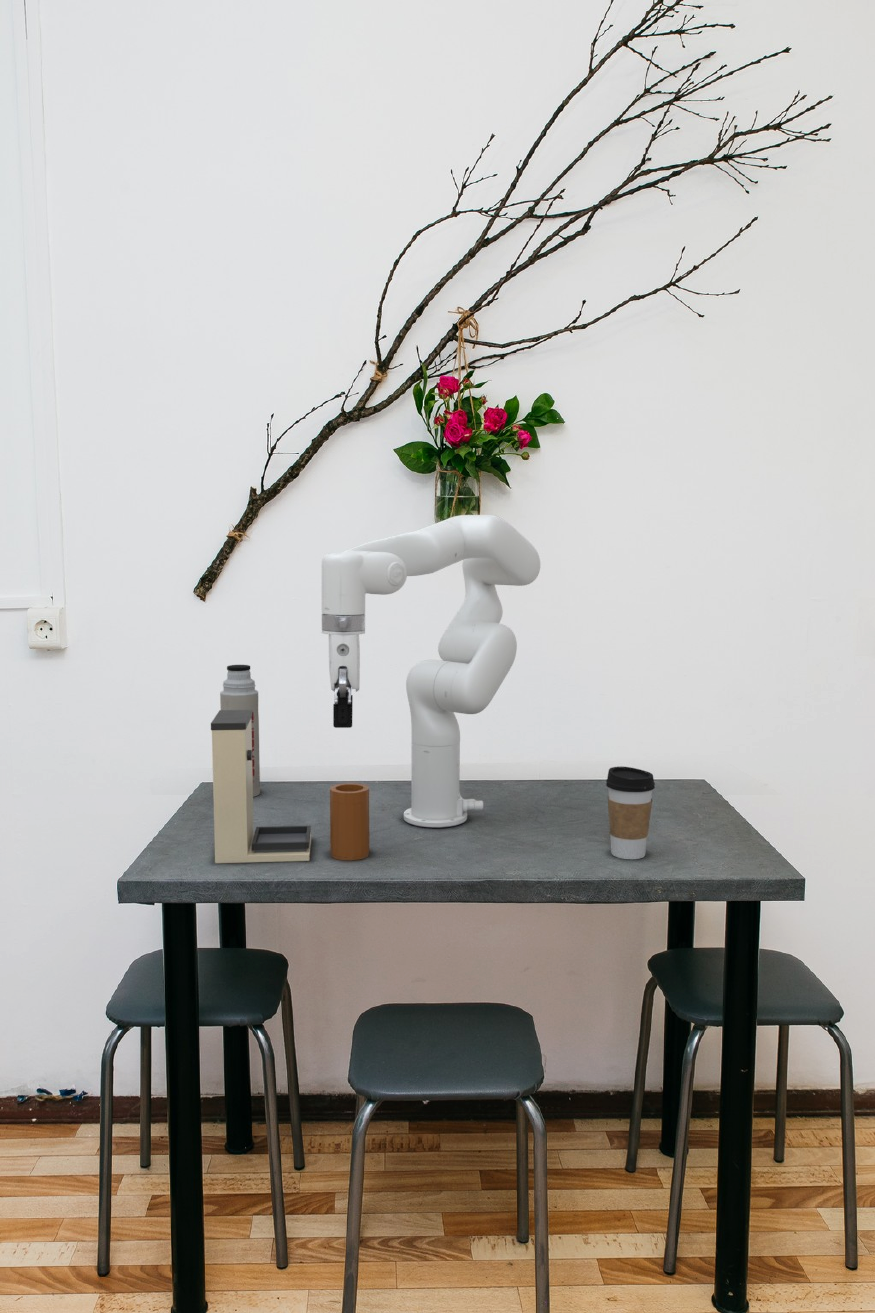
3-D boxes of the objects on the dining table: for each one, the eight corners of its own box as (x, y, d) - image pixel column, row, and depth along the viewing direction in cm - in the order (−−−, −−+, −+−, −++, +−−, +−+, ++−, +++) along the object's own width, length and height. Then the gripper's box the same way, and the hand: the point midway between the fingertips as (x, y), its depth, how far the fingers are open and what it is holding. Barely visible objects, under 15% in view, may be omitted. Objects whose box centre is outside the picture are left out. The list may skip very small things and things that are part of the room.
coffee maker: (311, 839, 183) (309, 709, 179) (309, 861, 171) (307, 722, 167) (222, 841, 181) (219, 710, 178) (214, 863, 169) (210, 723, 166)
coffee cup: (618, 843, 181) (621, 763, 179) (660, 853, 176) (663, 770, 174) (595, 855, 174) (597, 771, 173) (638, 865, 169) (641, 779, 167)
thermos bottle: (262, 797, 211) (259, 667, 207) (223, 800, 209) (220, 668, 205) (258, 788, 218) (255, 662, 215) (221, 790, 216) (218, 663, 213)
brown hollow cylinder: (368, 847, 178) (368, 782, 176) (369, 860, 171) (369, 792, 170) (330, 848, 177) (330, 783, 176) (330, 861, 171) (329, 793, 169)
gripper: (365, 629, 163) (365, 731, 165) (364, 620, 180) (364, 713, 182) (319, 629, 162) (319, 731, 164) (323, 620, 179) (323, 713, 181)
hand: (343, 722), depth 173 cm, fingers open, 9 cm apart
